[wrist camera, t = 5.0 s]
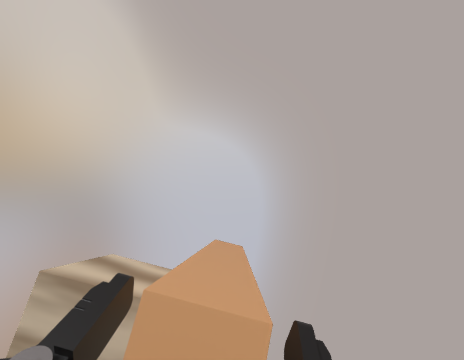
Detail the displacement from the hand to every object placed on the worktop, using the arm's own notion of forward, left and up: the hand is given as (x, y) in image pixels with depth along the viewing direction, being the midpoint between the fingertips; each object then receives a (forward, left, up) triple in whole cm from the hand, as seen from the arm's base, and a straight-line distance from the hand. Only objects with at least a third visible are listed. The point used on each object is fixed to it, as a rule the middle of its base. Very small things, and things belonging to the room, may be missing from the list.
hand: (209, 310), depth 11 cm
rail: (-4, +7, -2) cm, 9 cm away
